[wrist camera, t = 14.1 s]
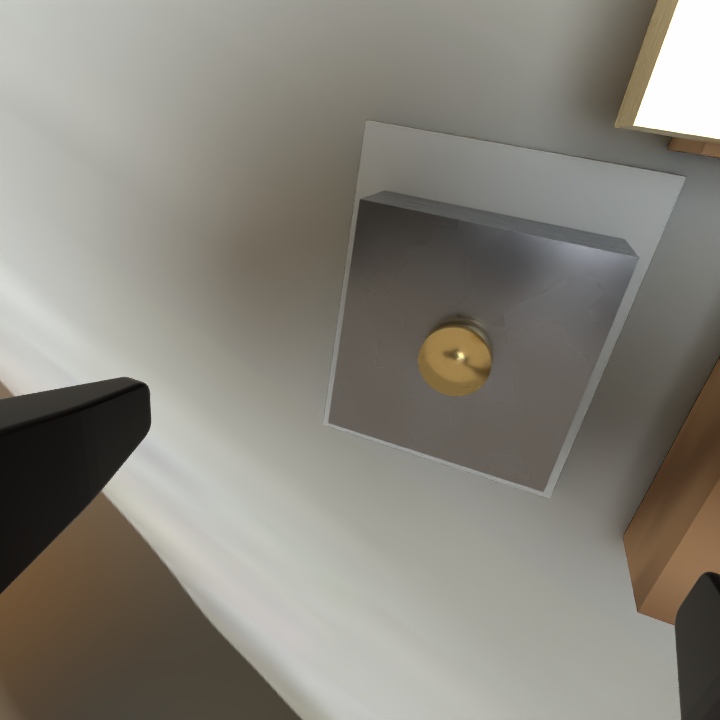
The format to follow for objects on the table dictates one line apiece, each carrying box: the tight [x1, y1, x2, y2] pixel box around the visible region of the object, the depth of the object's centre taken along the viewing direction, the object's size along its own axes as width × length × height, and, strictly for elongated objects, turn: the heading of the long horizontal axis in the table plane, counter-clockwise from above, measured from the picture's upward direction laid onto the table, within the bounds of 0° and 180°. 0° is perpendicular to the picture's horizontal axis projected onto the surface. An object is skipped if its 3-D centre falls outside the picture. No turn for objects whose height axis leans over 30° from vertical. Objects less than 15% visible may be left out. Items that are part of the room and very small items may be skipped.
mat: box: [323, 120, 686, 499], centre depth 15 cm, size 10×8×1 cm
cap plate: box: [328, 190, 639, 492], centre depth 14 cm, size 7×6×3 cm
